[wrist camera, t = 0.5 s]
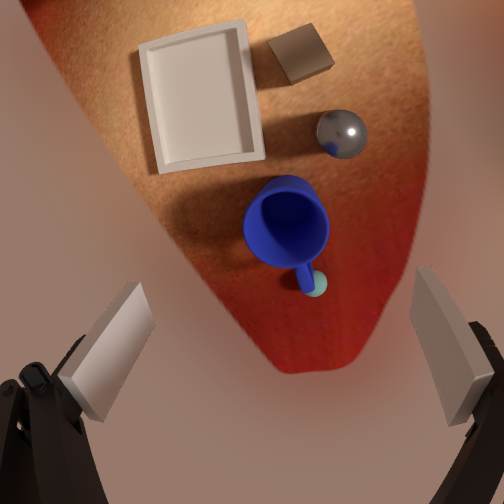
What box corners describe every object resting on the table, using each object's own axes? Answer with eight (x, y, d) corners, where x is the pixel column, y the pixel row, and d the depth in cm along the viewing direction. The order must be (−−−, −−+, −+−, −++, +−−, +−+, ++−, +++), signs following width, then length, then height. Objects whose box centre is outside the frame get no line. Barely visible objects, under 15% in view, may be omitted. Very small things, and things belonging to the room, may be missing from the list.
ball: (299, 266, 42) (299, 279, 39) (325, 264, 41) (327, 277, 38) (301, 288, 44) (301, 302, 40) (326, 286, 43) (328, 301, 40)
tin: (312, 111, 33) (315, 111, 28) (354, 109, 33) (365, 109, 27) (316, 152, 35) (320, 160, 30) (357, 150, 35) (368, 157, 29)
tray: (145, 47, 32) (138, 45, 30) (246, 23, 29) (244, 18, 28) (165, 171, 39) (159, 174, 37) (266, 157, 36) (264, 159, 35)
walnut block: (271, 50, 31) (267, 41, 26) (309, 33, 29) (311, 22, 25) (291, 85, 32) (290, 81, 28) (329, 69, 31) (335, 63, 26)
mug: (277, 264, 42) (272, 308, 33) (245, 180, 38) (228, 203, 29) (337, 247, 40) (347, 288, 31) (309, 158, 36) (314, 175, 27)
